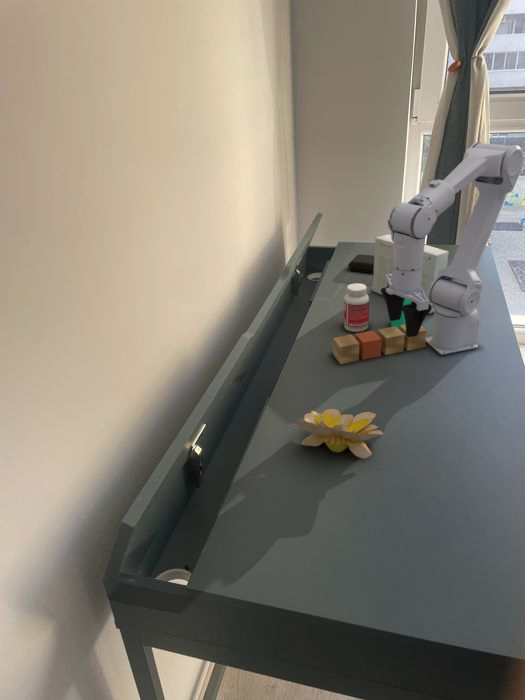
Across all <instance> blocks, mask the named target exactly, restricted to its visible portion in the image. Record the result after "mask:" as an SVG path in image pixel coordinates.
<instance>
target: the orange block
mask: <svg viewBox="0 0 525 700" xmlns="http://www.w3.org/2000/svg"><path fill="white" fill-rule="evenodd" d="M354 338H355V339H356V340H357V341H358V342H359V358H360V359H361V360H363V361H364V360H368V359H373V358H379V357H382V351H381V341H382V339H381V338H380V337H379V336H378V333H376V331H374V330H369V331H361V332H356V333H355V334H354Z"/></svg>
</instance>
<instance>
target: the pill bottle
mask: <svg viewBox="0 0 525 700" xmlns="http://www.w3.org/2000/svg"><path fill="white" fill-rule="evenodd" d="M367 290H368V289H367V285H366V284H363V283H358V282H355V283H350V284H348V285H347V286H346V294H345V295H344V297H343V327H344V329H346V331H348V332H352V333H362V332H365V331H366V330H367V329H368V328H369V324H370V323H369V322H370V321H369V320H370V297H369V296H370V295H368V293H367Z"/></svg>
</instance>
